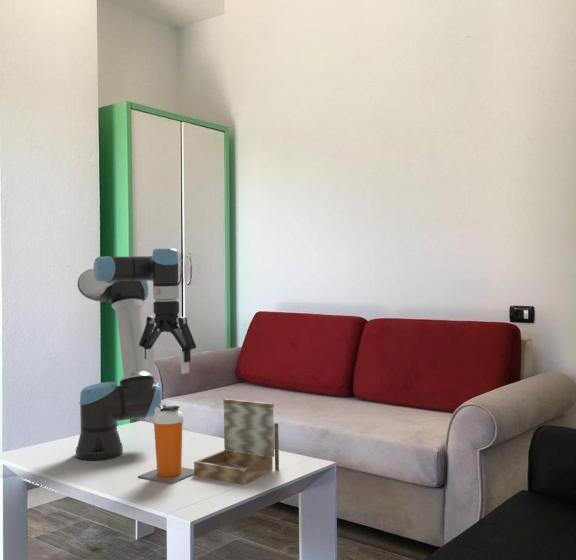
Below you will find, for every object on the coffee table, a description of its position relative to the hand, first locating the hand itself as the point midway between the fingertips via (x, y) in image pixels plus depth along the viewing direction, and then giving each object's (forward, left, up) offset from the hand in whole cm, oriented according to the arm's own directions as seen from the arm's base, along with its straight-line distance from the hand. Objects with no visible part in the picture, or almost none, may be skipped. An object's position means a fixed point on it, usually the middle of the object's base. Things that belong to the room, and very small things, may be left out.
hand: (167, 371), depth 198 cm
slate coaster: (0, 0, -31) cm, 31 cm away
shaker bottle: (0, 0, -30) cm, 30 cm away
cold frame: (+17, +11, -31) cm, 37 cm away
